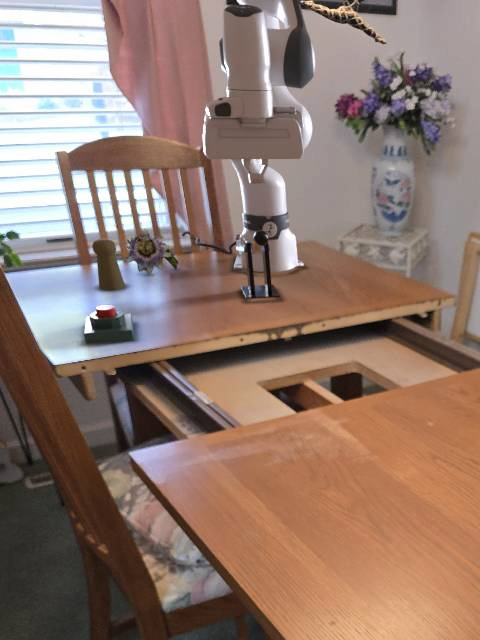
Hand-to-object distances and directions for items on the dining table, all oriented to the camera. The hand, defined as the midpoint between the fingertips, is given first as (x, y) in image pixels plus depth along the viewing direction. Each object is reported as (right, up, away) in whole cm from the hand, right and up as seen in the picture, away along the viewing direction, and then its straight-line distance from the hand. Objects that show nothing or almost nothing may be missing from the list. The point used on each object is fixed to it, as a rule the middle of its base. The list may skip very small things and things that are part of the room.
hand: (256, 183), depth 149 cm
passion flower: (-35, -4, +37) cm, 51 cm away
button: (-30, -30, -5) cm, 42 cm away
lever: (-2, -10, +11) cm, 15 cm away
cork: (-40, -14, +24) cm, 49 cm away
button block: (-30, -33, -3) cm, 44 cm away
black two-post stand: (-4, -16, +22) cm, 28 cm away
